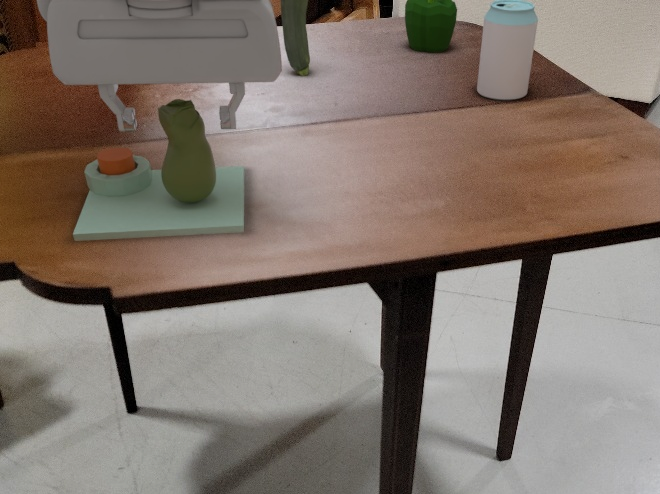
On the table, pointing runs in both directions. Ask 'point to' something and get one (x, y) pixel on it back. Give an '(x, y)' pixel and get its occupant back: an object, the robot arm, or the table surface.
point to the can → (507, 49)
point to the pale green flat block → (157, 205)
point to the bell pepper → (430, 24)
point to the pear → (186, 153)
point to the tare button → (116, 161)
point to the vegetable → (296, 34)
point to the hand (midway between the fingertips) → (179, 128)
